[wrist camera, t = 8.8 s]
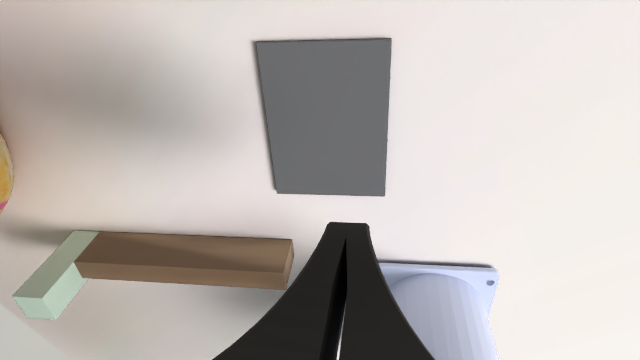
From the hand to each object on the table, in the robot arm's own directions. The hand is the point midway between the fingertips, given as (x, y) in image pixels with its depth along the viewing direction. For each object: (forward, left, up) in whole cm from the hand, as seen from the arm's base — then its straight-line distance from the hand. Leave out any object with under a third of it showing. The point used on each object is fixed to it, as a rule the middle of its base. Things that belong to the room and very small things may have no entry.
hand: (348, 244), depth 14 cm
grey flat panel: (0, +2, -9) cm, 10 cm away
